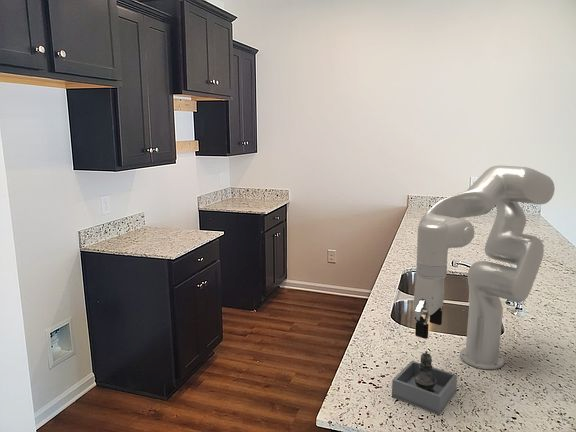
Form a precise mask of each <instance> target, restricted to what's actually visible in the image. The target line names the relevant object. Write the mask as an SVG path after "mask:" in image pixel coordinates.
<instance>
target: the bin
mask: <svg viewBox="0 0 576 432" xmlns="http://www.w3.org/2000/svg"><path fill="white" fill-rule="evenodd" d="M420 363H421V362H418V361H415V360H411V361H410V362H409V363H408V364H407V365H406V366H405V367H404V368H403V369H402V370H400V372H398V374H396V376H395V377H394V378H393V379H392V380H391V381H392V382H391V397H392V398H395V399H397V400H400V401H401V402H405V403H408V404H409V405H412V406H415V407H417V408H420V409H423V410H426V411H428V412H431V413H434V414H435V415H438V416H440V414H441V413H442V411H443V410H445V408H446V406H447V405H448V404H449V402H450V401H451V399H452V398H453V396H455V394H456V393H457V383H458V374H455V373H451V372H449V371H446V370H443V369H439V368H436V367H434V366H432V367H433V368H432V369H431V376H433V377H434V378H435V379H436V384H435V386H434V387H433V390H434V391H435V393H433V392H430V391H427V390H424V389H421V388H419V387H417V385H416V383H415V380H414V376H415V375H417V374H419V373H420V367H419V364H420Z"/></svg>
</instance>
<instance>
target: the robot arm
mask: <svg viewBox="0 0 576 432" xmlns="http://www.w3.org/2000/svg"><path fill="white" fill-rule="evenodd" d="M554 195H555V183H554V181H553V179H552V178H551V177H550V176H548V175H546V173H545V174H544V173H543V172H541V171H538V170H536V169H534V168H531V167H527V166H513V165H493V166H491V167H489V168H487V169H486V170H485V171H484V172H483V173H482V174H481V175H480V176H479V177H478V178H477V179H476V180H475V182H474V183H472V184H471V186H470V187H469V188H467V189H466V190H464V191H462V192H458V193H455V194H454V195H450V196H448V197H446V198H443V199H441V200H439V201H438V202H436V203H435V204H433V205H432V206H431V207H430V208H429V209H428V210H427V211H426V213H424V215H423V216H422V218H421V219H420V221H419V224H418V227H417V243H416V246H417V247H416V268H415V269H416V270H415V272H416V273H415V275H416V280H415V285H414V295H413V306H412V307H413V308H412V310H413V312H414V319H415V321H414V323H415V330H414V331H415V334H414V335H415V337H417V338H420V339H424V340H427V339H428V338H429V327H430V326H429V323H430V324H433V325H437V326H441V325H442V324H443V322H442V321H443V309H444V307H443V304H444V299H445V279H446V277H447V271H448V270H447V269H448V255H449V251H448V250H449V249H456V248H464V247H466V246H467V245H469V244H470V243H471V242H472V241H473V239H474V237H475V228H474V225H473V224H472V223H471V222H470V221H469V220H466V219H464V218H474V217H480V216H482V215H487V214H488V213H490V212H491V211H492V210H493V208H496V216H495V219H494V222H493V224H492V227H491V229H490V232H489V235H488V237H487V239H486V243H485V246H484V254H485V255H486V256H487V258H489V259H492V260H495V261H498V262H502V263H507V264H509V265H514V266H516V267H513V266H509V265H504V264H501V263H497V262H492V261H487V260H486V261H485V260H479V261H476V262H473V263H472V264H471V265H470V267H469V268H468V271H467V282H468V283H467V284H468V290H469V299H468V300H469V301H468V302H469V304H468V315H467V327H466V328H467V330H466V343H465V348H462V349H461V350H460V354H459V355H460V359H461V360H462V361H463V362H464V363H465V364H468V365H469V366H471V367H474V368H476V369H477V368H478V369H483V370H498V369H500V368H501V367H503V366H504V365H505V364H504V363H505V359H504V357H503V356H502V355H501V354H500V346H501V345H500V344H501V335H502V322H503V312H504V309H503V304H502V301H501V299H503V300H506V301H511V302H515V303H521V302H524V301H526V300H527V298H528V297H529V295H530V294H531V291H532V289H533V286H534V283H535V280H536V277H537V275H538V272H539V270H540V267H541V264H542V262H543V258H544V252H545V250H544V249H545V247H544V243H543V241H542V240H541V239H540V237H537V236H536V235H535V236H534V235H531V234H526V233H523V232H524V230H525V227H526V224H527V218H526V214H525V212H524V210H523V209H522V207H521V206H520V204H519V203H525V204H534V205H546V204H548V203H549V202H550V201H551V200H552V199H553V197H554ZM495 206H496V207H495ZM500 298H501V299H500ZM423 316H424V317H423ZM428 322H429V323H428Z"/></svg>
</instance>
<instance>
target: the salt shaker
mask: <svg viewBox="0 0 576 432" xmlns="http://www.w3.org/2000/svg"><path fill="white" fill-rule="evenodd" d="M432 357H433V356H432V355H431V354H430V353H428V350H425V352H424V353H422V354H420V362H419V363H420V364H419V367H420V373H419V374H417V375H415V376H414V380H415V383H416V385H417V387H419V388H421V389H424V390H427V391H430V392H433V393H435V391H434V390H433V387H434V386H435V384H436V379H435V378H434V377H433V376H431V369H432V368H433V367H434V366H433V365H432V359H433V358H432Z"/></svg>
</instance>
